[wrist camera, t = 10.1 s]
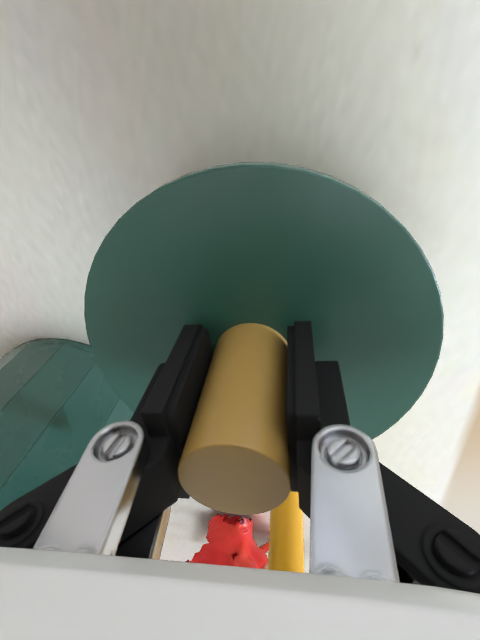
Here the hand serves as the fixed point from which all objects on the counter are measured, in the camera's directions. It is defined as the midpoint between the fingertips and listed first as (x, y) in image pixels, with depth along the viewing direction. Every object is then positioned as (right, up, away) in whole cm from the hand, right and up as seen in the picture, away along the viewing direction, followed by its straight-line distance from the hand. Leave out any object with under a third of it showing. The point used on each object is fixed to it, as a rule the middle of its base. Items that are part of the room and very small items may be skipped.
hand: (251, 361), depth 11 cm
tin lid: (0, +1, +1) cm, 1 cm away
